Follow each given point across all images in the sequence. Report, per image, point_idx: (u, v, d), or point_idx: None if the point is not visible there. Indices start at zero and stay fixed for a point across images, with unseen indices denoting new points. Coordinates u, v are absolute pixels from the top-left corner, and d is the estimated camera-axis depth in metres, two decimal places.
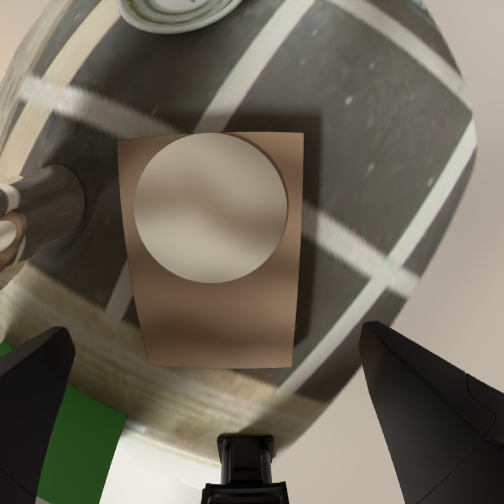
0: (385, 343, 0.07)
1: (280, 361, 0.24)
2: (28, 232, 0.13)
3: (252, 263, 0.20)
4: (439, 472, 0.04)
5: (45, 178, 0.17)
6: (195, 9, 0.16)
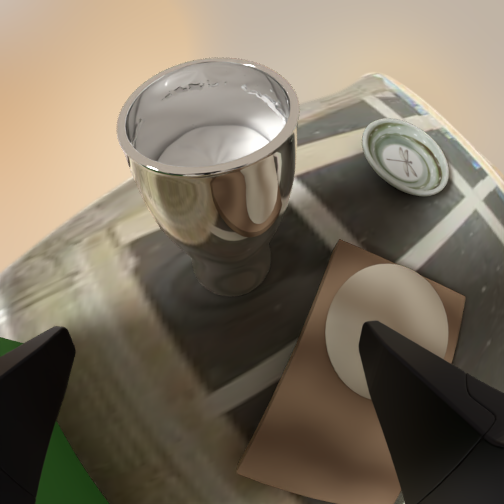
0: (385, 343, 0.07)
1: (383, 503, 0.14)
2: (273, 234, 0.16)
3: None
4: (439, 472, 0.04)
5: None
6: (408, 182, 0.26)
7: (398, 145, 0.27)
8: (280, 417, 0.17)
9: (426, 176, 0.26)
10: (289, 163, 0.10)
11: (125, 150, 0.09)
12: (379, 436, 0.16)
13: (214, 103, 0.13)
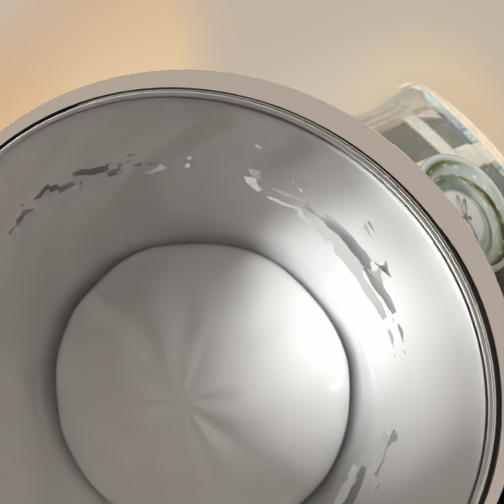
0: None
1: None
2: None
3: None
4: None
5: None
6: None
7: (455, 192, 0.19)
8: None
9: (488, 238, 0.18)
10: None
11: None
12: None
13: (168, 209, 0.05)
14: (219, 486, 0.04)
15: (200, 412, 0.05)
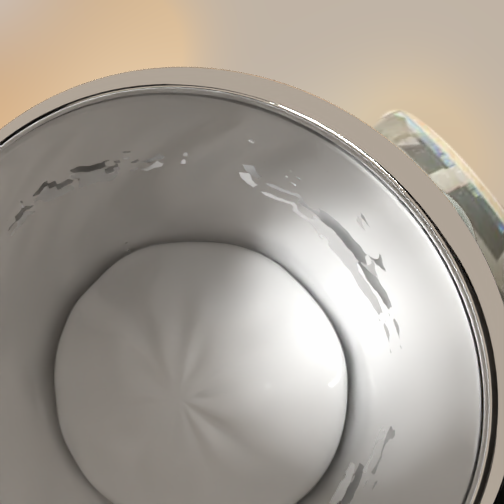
0: None
1: None
2: None
3: None
4: None
5: None
6: None
7: None
8: None
9: None
10: None
11: None
12: None
13: (166, 206, 0.05)
14: (216, 483, 0.04)
15: (197, 409, 0.05)
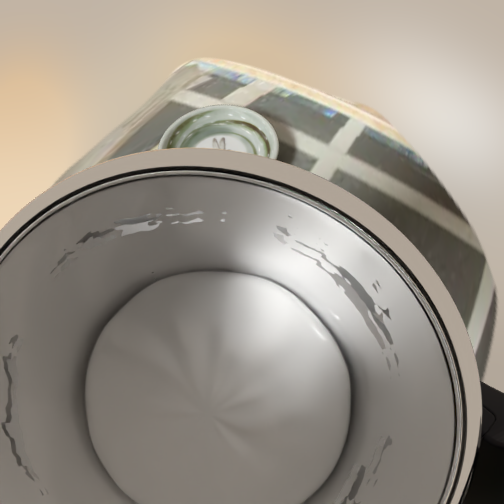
0: None
1: None
2: None
3: None
4: None
5: None
6: None
7: (211, 137, 0.25)
8: None
9: None
10: None
11: None
12: None
13: (197, 247, 0.06)
14: (239, 485, 0.05)
15: (224, 422, 0.05)
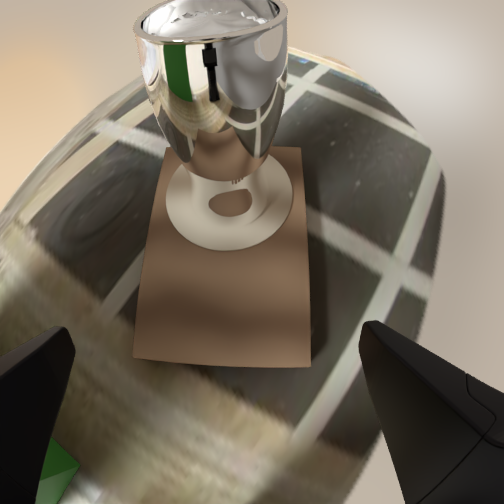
0: (385, 343, 0.07)
1: (296, 357, 0.19)
2: (269, 141, 0.15)
3: (263, 232, 0.22)
4: (439, 472, 0.04)
5: None
6: None
7: None
8: (150, 290, 0.21)
9: None
10: (280, 52, 0.10)
11: (140, 35, 0.09)
12: (251, 282, 0.21)
13: (217, 31, 0.13)
14: None
15: None
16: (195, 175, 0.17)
